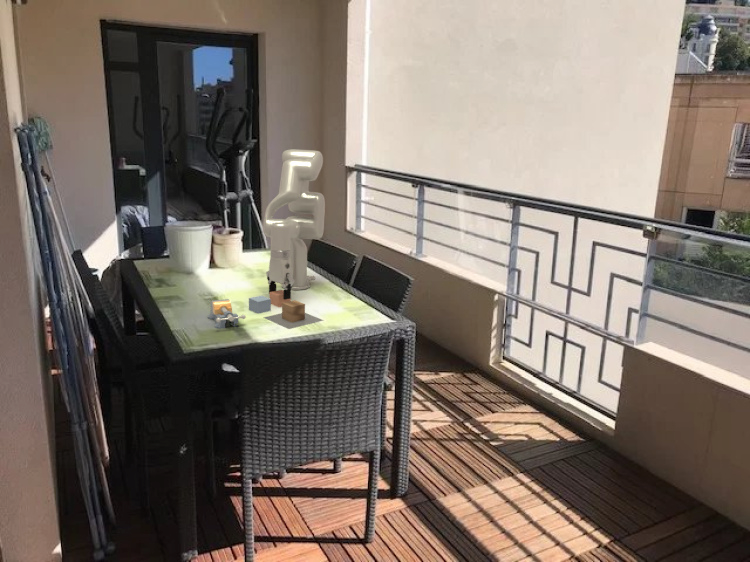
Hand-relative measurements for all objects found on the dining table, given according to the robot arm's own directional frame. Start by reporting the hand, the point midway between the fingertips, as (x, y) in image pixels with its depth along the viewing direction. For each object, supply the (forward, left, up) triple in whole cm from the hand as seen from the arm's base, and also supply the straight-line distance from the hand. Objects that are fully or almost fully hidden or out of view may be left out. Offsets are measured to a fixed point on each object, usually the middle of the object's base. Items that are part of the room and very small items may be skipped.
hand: (279, 296), depth 247 cm
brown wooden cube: (+6, +17, -3) cm, 19 cm away
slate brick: (+10, +1, -5) cm, 12 cm away
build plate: (+6, +17, -5) cm, 19 cm away
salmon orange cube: (-1, -1, -5) cm, 5 cm away
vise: (+26, +3, -5) cm, 27 cm away
